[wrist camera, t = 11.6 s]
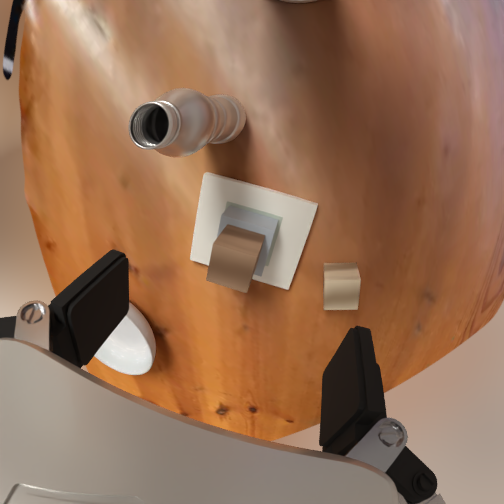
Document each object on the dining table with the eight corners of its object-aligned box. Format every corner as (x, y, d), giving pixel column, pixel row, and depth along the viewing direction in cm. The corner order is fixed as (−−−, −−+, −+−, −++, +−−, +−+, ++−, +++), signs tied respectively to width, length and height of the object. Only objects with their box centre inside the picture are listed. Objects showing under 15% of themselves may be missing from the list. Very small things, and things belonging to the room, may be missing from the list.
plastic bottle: (259, 122, 36) (209, 128, 18) (220, 151, 38) (144, 186, 21) (230, 86, 34) (157, 63, 16) (192, 116, 37) (100, 125, 19)
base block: (229, 205, 40) (221, 214, 37) (278, 219, 40) (275, 230, 36) (220, 249, 43) (212, 261, 40) (265, 262, 43) (261, 276, 40)
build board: (206, 172, 40) (203, 173, 39) (317, 203, 39) (317, 205, 38) (192, 256, 47) (189, 259, 45) (288, 285, 46) (288, 290, 44)
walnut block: (227, 223, 37) (213, 243, 32) (265, 235, 37) (257, 256, 31) (220, 257, 39) (206, 280, 34) (255, 268, 39) (246, 293, 34)
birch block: (323, 262, 43) (324, 280, 38) (356, 262, 42) (360, 279, 37) (323, 290, 45) (323, 310, 41) (354, 290, 44) (357, 309, 39)
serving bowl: (129, 266, 50) (109, 285, 44) (184, 350, 57) (171, 373, 51) (72, 289, 57) (54, 305, 51) (121, 357, 64) (108, 376, 58)
